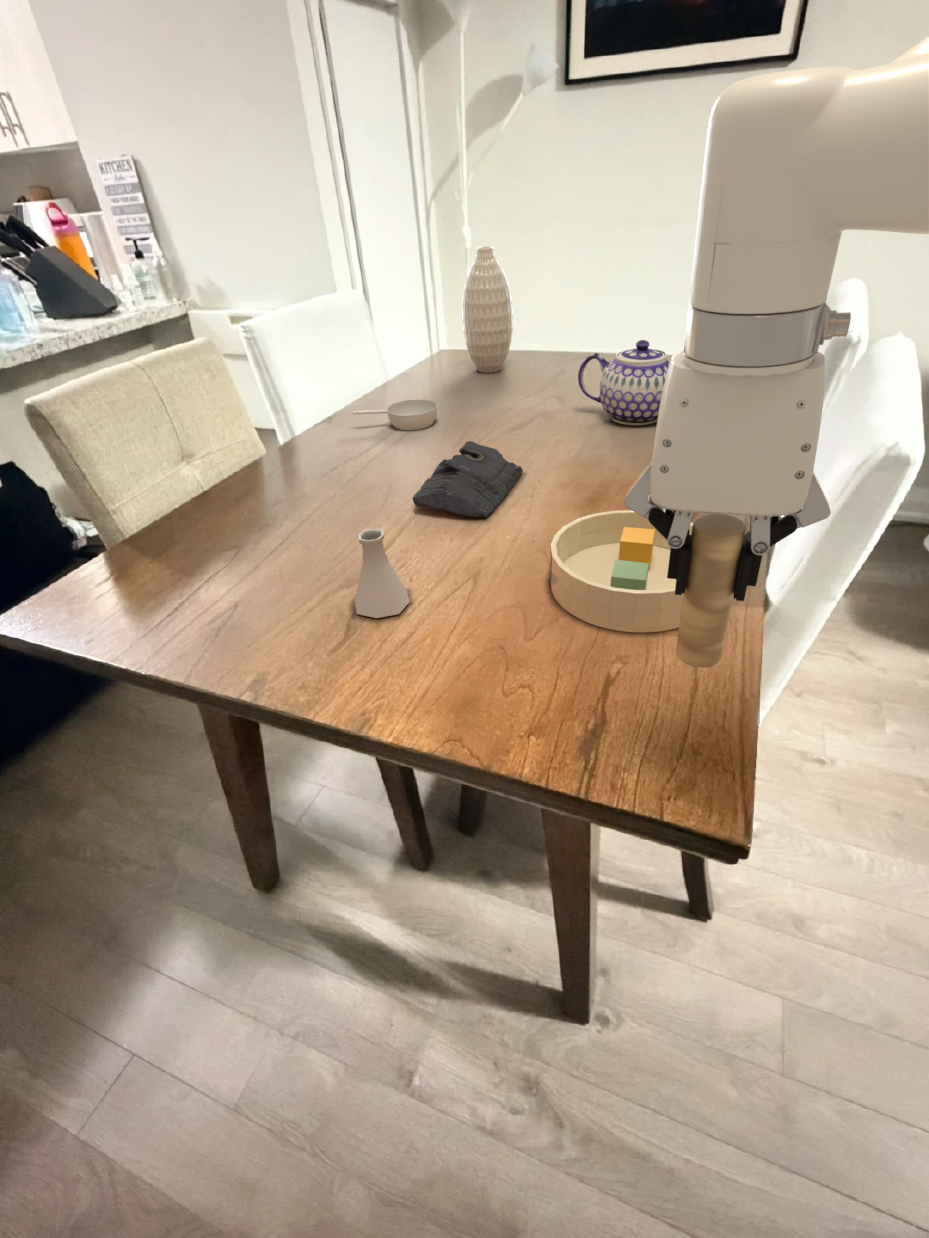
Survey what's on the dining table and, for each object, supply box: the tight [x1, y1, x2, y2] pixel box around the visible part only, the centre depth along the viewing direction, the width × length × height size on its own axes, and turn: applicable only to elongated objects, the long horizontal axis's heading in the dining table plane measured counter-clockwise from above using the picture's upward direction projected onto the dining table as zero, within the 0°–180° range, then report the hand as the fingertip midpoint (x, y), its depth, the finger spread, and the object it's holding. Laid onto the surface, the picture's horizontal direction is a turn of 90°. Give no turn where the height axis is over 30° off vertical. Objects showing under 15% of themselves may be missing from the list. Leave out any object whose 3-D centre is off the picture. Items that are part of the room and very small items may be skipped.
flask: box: [354, 528, 411, 619], centre depth 80 cm, size 7×7×10 cm
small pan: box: [351, 398, 438, 431], centre depth 137 cm, size 11×18×4 cm, turn 97°
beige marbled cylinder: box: [675, 513, 747, 669], centre depth 50 cm, size 4×4×12 cm
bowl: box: [549, 509, 693, 634], centre depth 81 cm, size 20×20×6 cm
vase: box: [461, 245, 514, 374], centre depth 161 cm, size 13×13×28 cm
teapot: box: [577, 339, 670, 426], centre depth 128 cm, size 25×15×15 cm, turn 61°
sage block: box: [610, 560, 649, 590], centre depth 77 cm, size 4×4×4 cm
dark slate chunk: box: [412, 440, 524, 518], centre depth 108 cm, size 15×22×5 cm
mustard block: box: [619, 527, 655, 571], centre depth 84 cm, size 4×4×4 cm
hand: (709, 586), depth 50 cm, fingers closed on beige marbled cylinder, 3 cm apart
